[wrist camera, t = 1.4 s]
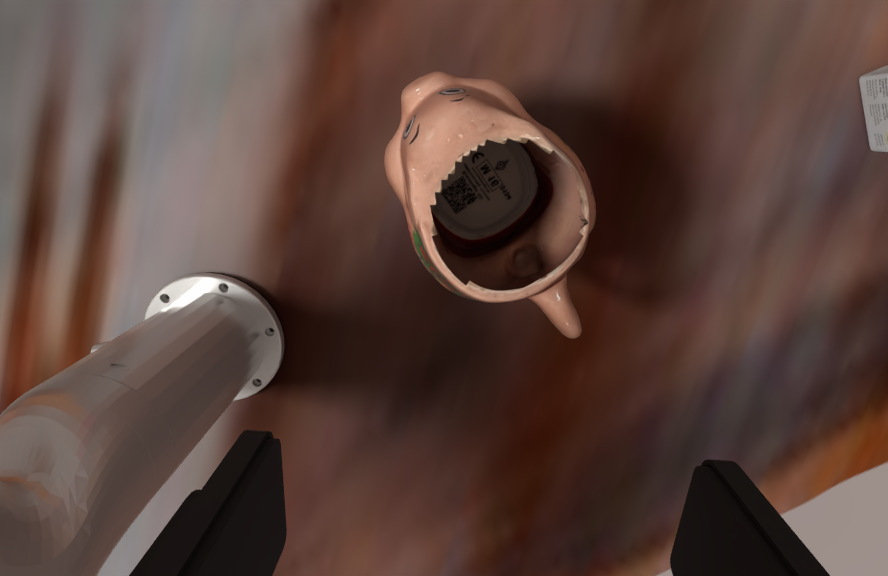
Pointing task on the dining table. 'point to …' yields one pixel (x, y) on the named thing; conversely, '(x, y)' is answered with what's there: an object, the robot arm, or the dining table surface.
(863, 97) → the coffee box
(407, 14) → the dining table surface
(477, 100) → the decorative planter
